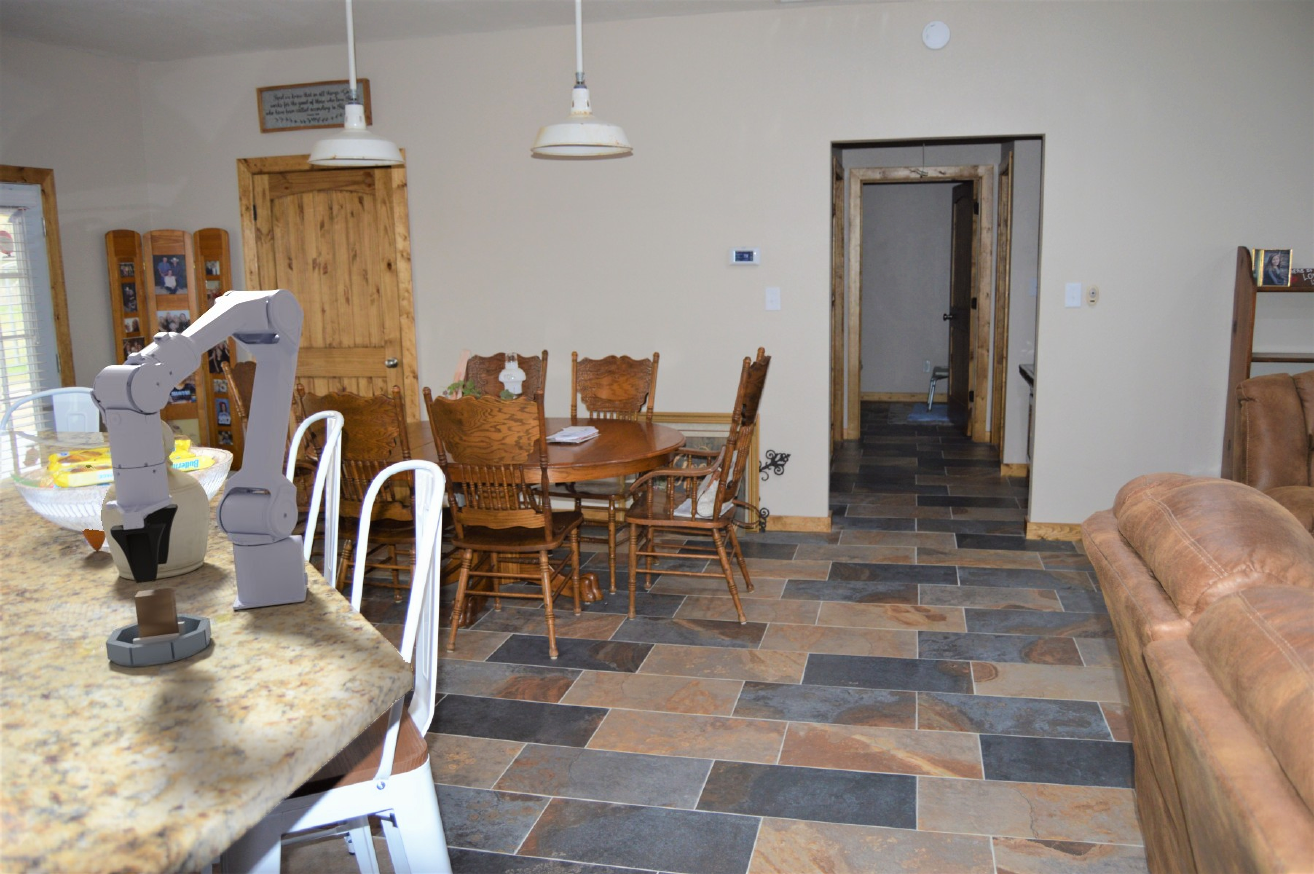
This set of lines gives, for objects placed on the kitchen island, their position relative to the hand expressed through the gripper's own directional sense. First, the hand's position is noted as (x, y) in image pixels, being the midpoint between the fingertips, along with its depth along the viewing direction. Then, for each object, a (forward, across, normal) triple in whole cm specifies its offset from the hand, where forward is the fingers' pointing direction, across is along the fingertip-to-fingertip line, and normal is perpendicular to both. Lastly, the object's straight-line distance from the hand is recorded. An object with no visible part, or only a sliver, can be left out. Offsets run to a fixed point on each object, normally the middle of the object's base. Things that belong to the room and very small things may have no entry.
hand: (152, 572), depth 119 cm
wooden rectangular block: (+10, 0, 0) cm, 10 cm away
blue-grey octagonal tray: (+10, 0, 0) cm, 10 cm away
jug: (+10, -39, -6) cm, 41 cm away
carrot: (+10, -56, -19) cm, 60 cm away
